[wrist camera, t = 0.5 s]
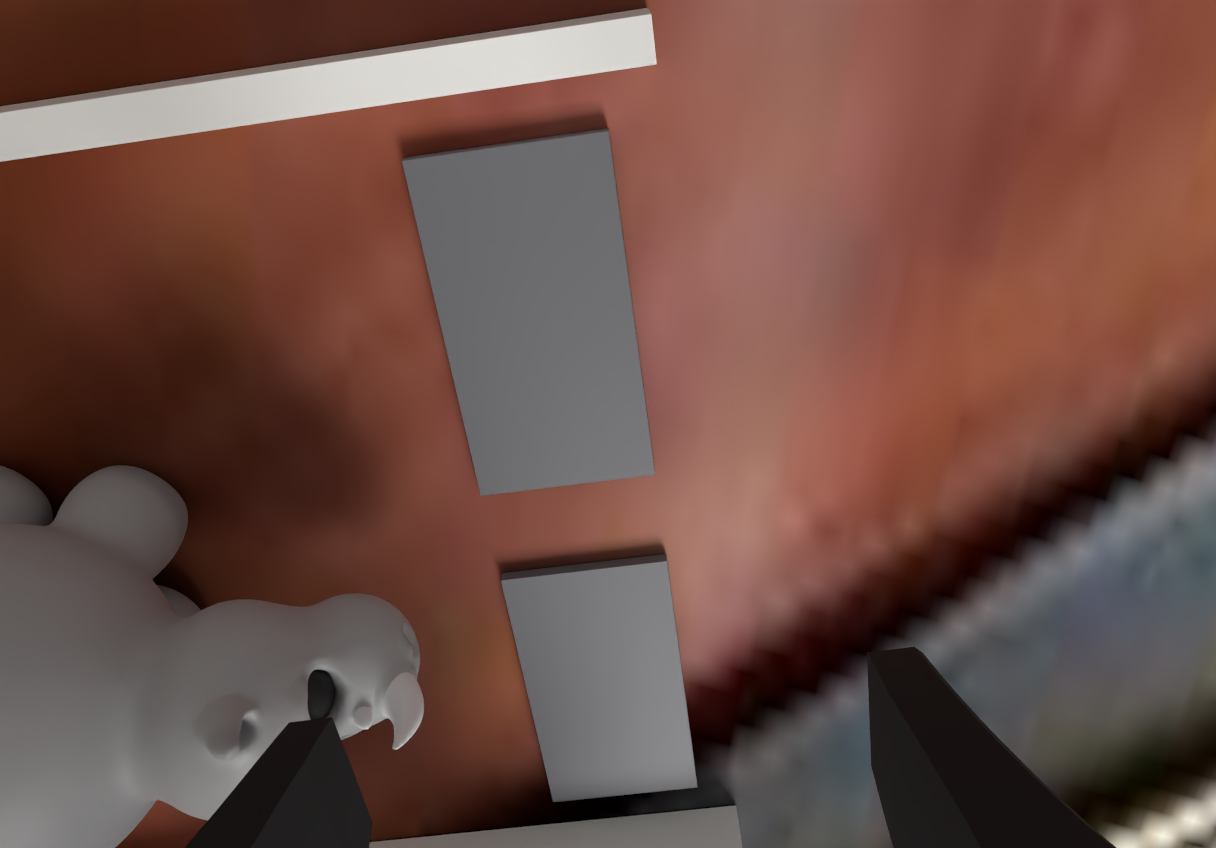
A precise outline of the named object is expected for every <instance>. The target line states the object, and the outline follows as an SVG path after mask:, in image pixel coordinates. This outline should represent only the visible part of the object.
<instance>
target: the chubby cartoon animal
mask: <svg viewBox="0 0 1216 848" xmlns="http://www.w3.org/2000/svg"><path fill="white" fill-rule="evenodd" d="M52 521H53V513H52V508H51V505H50V502H49V500H48V499H47V497H46V496H45V494H44V493H43V492H42V491H41V490H40V489H39V488H38V487H37V486H36V485H35V484H34V483H33V482H32V481H30V480H29V479H27V478H26V477H24V476H23V475H21V474H19V473H17V472H15V471H14V470H11V469H9V468H6V467H3V466H0V848H115V847H116V846H117V845H118V844H120V843H121V842H122V841H123V840H124V839H125V838H126V837H127V836H128V835H129V834H130V833H131V832H132V831H133V830H134V828H135V827H136V826H137V825H138V824H139V823H140V821H141V820H142V819H143V818H144V817H145V815H146V814H147V813H148V811H149V810H150V809H151V808H152V806H153V805H154V803H155V802H156V800H161V801H163V802H165V803H167V804H169V805H171V806H173V807H175V808H176V809H178V810H180V811H181V812H183V813H186V814H188V815H190V816H193V817H196V818H199V819H203V820H207V821H208V820H209V819H210V818H211V816H212V815H213V814H214V813H215V812H216V810H217V809H218V808H219V807H220V806H221V804H222V803H223V802H224V801H225V799H226V798H227V797H228V796H229V795H230V793H231V792H232V791H233V790H234V789H235V787H236V786H237V785H238V784H239V782H240V781H241V780H242V779H243V778H244V776H245V775H246V774H247V773H248V771H249V770H250V769H251V768H252V767H253V765H254V764H255V763H256V762H257V760H258V759H259V758H260V757H261V755H262V754H263V753H264V752H265V751H266V749H267V748H268V747H269V746H270V744H271V743H272V742H273V741H274V740H275V738H276V737H277V736H278V735H279V734H280V732H281V731H282V730H283V729H284V728H285V727H286V725H287V724H288V723H289V722H296V721H305V720H313V719H321V718H330V717H332V718H333V720H334V723H335V725H336V728H337V731H338V733H339V736H340V739H341V740H343V739H345V738H348V737H350V736H352V735H355V734H357V733H358V732H360V731H362V730H365V729H369V727H370V726H372V725H375V724H377V723H379V722H380V721H382V720H384V719H387V718H389V719H390V720H391V722H392V723H393V726H394V742H393V746H392V749H396V750H397V749H399V748H400V747H401V746H403V745H404V744H405V743H406V742H407V741H408V740H409V739H410V738H411V737H412V736H413V735H414V733H415V732H416V731H417V729H418V727H419V725H420V723H421V721H422V718H423V714H424V699H423V695H422V691H421V689H420V686H419V684H418V682H417V675H418V671H419V666H420V651H419V645H418V641H417V638H416V635H415V632H414V630H413V628H412V627H411V625H410V623H409V621H408V620H407V619H406V617H405V616H404V615H403V614H402V613H401V612H400V611H399V610H398V609H397V608H396V607H395V606H393V605H392V604H390V603H389V602H387V601H385V600H383V599H381V598H379V597H376V596H373V595H369V594H362V593H351V594H342V595H337V596H334V597H331V598H328V599H326V600H324V601H321V602H319V603H317V604H314V605H311V606H306V607H296V606H288V605H282V604H278V603H273V602H268V601H262V600H255V599H238V600H230V601H225V602H220V603H217V604H214V605H212V606H209V607H207V608H205V609H203V610H200V608H199V607H198V606H197V605H196V604H195V603H194V602H192V601H191V600H190V599H189V598H187V597H186V596H184V595H183V594H181V593H179V592H177V591H175V590H173V589H171V588H168V587H164V586H160V585H156V584H155V583H154V581H153V578H154V577H155V576H157V575H158V574H159V573H160V572H161V571H162V570H163V569H164V568H165V567H166V566H167V564H168V563H169V562H170V561H171V560H172V558H173V557H174V555H175V554H176V552H177V551H178V549H179V547H180V546H181V544H182V541H183V539H184V536H185V533H186V530H187V525H188V512H187V507H186V505H185V502H184V501H183V499H182V497H181V496H180V495H179V493H178V492H177V491H176V490H175V489H174V488H173V487H172V486H171V485H169V484H168V483H167V482H166V481H164V480H163V479H161V478H160V477H158V476H156V475H155V474H153V473H151V472H148V471H146V470H143V469H141V468H138V467H133V466H127V465H116V466H110V467H106V468H103V469H100V470H98V471H96V472H94V473H92V474H91V475H89V476H87V477H86V478H85V479H83V480H82V481H81V482H80V483H78V484H77V485H76V486H75V487H74V488H73V490H72V491H71V492H70V493H69V494H68V496H67V497H66V498H65V500H64V502H63V503H62V505H61V507H60V509H59V511H58V513H57V516H56V518H55V519H54V521H53V522H52Z"/></svg>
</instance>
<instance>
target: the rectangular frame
mask: <svg viewBox="0 0 1216 848" xmlns="http://www.w3.org/2000/svg"><path fill="white" fill-rule="evenodd" d="M655 64H657V62H656V53H655V44H654V35H653V26H652V17H651V13H650V11H649V9H648V8H643V9H637V10H630V11H624V12H617V13H610V14H604V15H597V16H591V17H584V18H578V19H571V20H564V21H558V22H551V23H545V24H538V25H532V26H525V27H518V28H512V29H505V30H499V31H492V32H486V33H479V34H473V35H466V36H459V37H453V38H446V39H440V40H433V41H427V42H420V43H413V44H407V45H400V46H394V47H387V48H381V49H374V50H368V51H361V52H354V53H348V54H341V55H335V56H328V57H322V58H315V59H308V60H302V61H295V62H289V63H282V64H276V65H269V66H263V67H256V68H249V69H243V70H236V71H230V72H223V73H217V74H210V75H203V76H197V77H190V78H184V79H177V80H171V81H164V82H157V83H151V84H144V85H138V86H131V87H125V88H118V89H112V90H105V91H98V92H92V93H85V94H79V95H72V96H66V97H59V98H52V99H46V100H39V101H33V102H26V103H20V104H13V105H7V106H0V162H2V161H9V160H16V159H22V158H29V157H36V156H42V155H49V154H56V153H63V152H69V151H76V150H83V149H90V148H96V147H103V146H110V145H116V144H123V143H130V142H137V141H143V140H150V139H157V138H164V137H170V136H177V135H184V134H190V133H197V132H204V131H211V130H217V129H224V128H231V127H238V126H244V125H251V124H258V123H264V122H271V121H278V120H285V119H291V118H298V117H305V116H312V115H318V114H325V113H332V112H338V111H345V110H352V109H359V108H365V107H372V106H379V105H386V104H392V103H399V102H406V101H412V100H419V99H426V98H433V97H439V96H446V95H453V94H460V93H466V92H473V91H480V90H486V89H493V88H500V87H507V86H513V85H520V84H527V83H534V82H540V81H547V80H554V79H560V78H567V77H574V76H581V75H587V74H594V73H601V72H608V71H614V70H621V69H628V68H634V67H641V66H648V65H655ZM402 164H403V168H404V172H405V176H406V181H407V185H408V189H409V193H410V198H411V202H412V206H413V210H414V215H415V219H416V223H417V227H418V232H419V236H420V240H421V244H422V249H423V253H424V257H425V261H426V265H427V270H428V274H429V278H430V282H431V287H432V291H433V295H434V299H435V304H436V308H437V312H438V316H439V321H440V325H441V329H442V333H443V338H444V342H445V346H446V350H447V354H448V359H449V363H450V367H451V371H452V376H453V380H454V384H455V388H456V393H457V397H458V401H459V405H460V410H461V414H462V418H463V422H464V427H465V431H466V435H467V439H468V443H469V448H470V452H471V456H472V460H473V465H474V469H475V473H476V477H477V482H478V486H479V490H480V494H481V496H484V495H492V494H501V493H509V492H517V491H525V490H533V489H542V488H550V487H558V486H566V485H574V484H582V483H591V482H599V481H607V480H615V479H623V478H631V477H640V476H648V475H655V469H654V461H653V454H652V447H651V439H650V432H649V424H648V417H647V410H646V402H645V395H644V388H643V380H642V373H641V365H640V358H639V351H638V343H637V336H636V329H635V321H634V314H633V306H632V299H631V292H630V284H629V277H628V269H627V262H626V255H625V247H624V240H623V233H622V225H621V218H620V210H619V203H618V196H617V188H616V181H615V174H614V166H613V159H612V151H611V144H610V137H609V129H608V128H606V129H599V130H592V131H585V132H578V133H571V134H564V135H557V136H550V137H544V138H537V139H530V140H523V141H516V142H509V143H502V144H495V145H488V146H481V147H475V148H468V149H461V150H454V151H447V152H440V153H433V154H426V155H419V156H412V157H406V158H404V159H403V160H402ZM501 583H502V588H503V592H504V596H505V600H506V604H507V609H508V613H509V617H510V621H511V626H512V630H513V634H514V638H515V643H516V647H517V651H518V655H519V660H520V664H521V668H522V672H523V677H524V681H525V685H526V689H527V693H528V698H529V702H530V706H531V710H532V715H533V719H534V723H535V727H536V732H537V736H538V740H539V744H540V749H541V753H542V757H543V761H544V766H545V770H546V774H547V778H548V782H549V787H550V791H551V795H552V799H553V802H559V801H569V800H579V799H589V798H599V797H609V796H618V795H628V794H638V793H648V792H658V791H667V790H677V789H687V788H697V779H696V771H695V764H694V756H693V749H692V742H691V734H690V727H689V720H688V712H687V705H686V697H685V690H684V683H683V675H682V668H681V661H680V653H679V646H678V638H677V631H676V624H675V616H674V609H673V602H672V594H671V587H670V579H669V572H668V565H667V557H666V554H661V555H652V556H644V557H635V558H627V559H618V560H609V561H601V562H592V563H584V564H575V565H567V566H558V567H550V568H541V569H533V570H524V571H516V572H507V573H502V577H501ZM369 848H742V842H741V835H740V828H739V822H738V815H737V809H736V805H735V806H725V807H715V808H705V809H695V810H685V811H675V812H665V813H656V814H646V815H636V816H626V817H616V818H606V819H596V820H586V821H576V822H566V823H556V824H546V825H536V826H526V827H516V828H506V829H496V830H486V831H476V832H466V833H457V834H447V835H437V836H427V837H417V838H407V839H397V840H387V841H377V842H370V844H369Z"/></svg>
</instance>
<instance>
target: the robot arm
mask: <svg viewBox="0 0 1216 848" xmlns="http://www.w3.org/2000/svg"><path fill="white" fill-rule="evenodd" d="M867 661H868V687H869V714H870V740H871V766H872V770H873V774H874V778H875V781H876V785H877V789H878V793H879V797H880V801H881V804H882V808H883V812H884V815H885V819H886V823H887V826H888V830H889V834H890V837H891V841H892V844H893V846H894V848H1116V847H1115V846H1114V845H1112V844H1111V843H1110V842H1109V841H1108V840H1106V839H1105V838H1104V837H1103V836H1102V835H1101V834H1099V833H1098V832H1097V831H1096V830H1095V829H1094V828H1092V827H1091V826H1090V825H1089V824H1088V823H1087V822H1086V821H1085V820H1083V819H1082V818H1081V817H1080V816H1079V815H1078V814H1077V813H1076V812H1075V811H1073V810H1072V809H1071V808H1070V807H1069V806H1068V805H1067V804H1066V803H1065V802H1063V801H1062V800H1061V799H1060V798H1059V797H1058V796H1057V795H1056V794H1055V793H1054V792H1053V791H1051V790H1050V789H1049V788H1048V787H1047V786H1046V785H1045V784H1044V783H1043V782H1042V781H1041V780H1040V779H1039V778H1038V777H1037V776H1036V775H1035V774H1034V773H1033V772H1032V771H1031V770H1030V769H1029V768H1028V767H1027V766H1026V765H1025V764H1024V763H1023V762H1022V761H1021V760H1020V759H1019V758H1018V757H1017V756H1016V755H1015V754H1014V753H1013V752H1012V751H1011V750H1010V749H1009V748H1008V747H1007V746H1006V745H1005V744H1004V743H1003V742H1002V741H1001V740H1000V739H999V738H998V737H997V736H996V735H995V734H994V733H993V732H992V731H991V730H990V729H989V728H988V727H987V726H986V725H985V724H984V723H983V722H982V721H981V719H980V718H979V717H978V716H977V715H976V714H975V713H974V712H973V711H972V710H971V708H970V707H969V706H968V705H967V704H966V703H965V702H964V701H963V700H962V699H961V697H960V696H959V695H958V694H957V693H956V692H955V691H954V690H953V688H952V687H951V686H950V685H949V684H948V683H947V681H946V680H945V679H944V678H943V677H942V676H941V674H940V673H939V672H938V671H937V670H936V668H935V667H934V666H933V665H932V664H931V662H930V661H929V660H928V659H927V658H926V656H925V655H924V654H923V653H922V652H921V651H919V650H918V649H917V648H915V647H909V648H901V649H893V650H885V651H876V652H868V653H867ZM371 829H372V820H371V818H370V815H369V812H368V810H367V807H366V804H365V802H364V799H363V796H362V794H361V791H360V789H359V786H358V783H357V781H356V778H355V775H354V773H353V770H352V768H351V765H350V762H349V760H348V757H347V754H346V752H345V749H344V746H343V744H342V741H341V739H340V736H339V733H338V731H337V728H336V725H335V723H334V720H333V718H332V717H330V718H321V719H313V720H305V721H296V722H289V723H288V724H287V725H286V727H285V728H284V729H283V730H282V731H281V732H280V734H279V735H278V736H277V737H276V738H275V740H274V741H273V742H272V743H271V744H270V746H269V747H268V748H267V749H266V751H265V752H264V753H263V754H262V755H261V757H260V758H259V759H258V760H257V762H256V763H255V764H254V765H253V767H252V768H251V769H250V770H249V771H248V773H247V774H246V775H245V776H244V778H243V779H242V780H241V781H240V782H239V784H238V785H237V786H236V787H235V789H234V790H233V791H232V792H231V793H230V795H229V796H228V797H227V798H226V799H225V801H224V802H223V803H222V804H221V806H220V807H219V808H218V809H217V810H216V812H215V813H214V814H213V815H212V816H211V818H210V819H209V820H208V821H207V822H206V823H205V825H204V826H203V827H202V828H201V829H200V831H199V832H198V833H197V834H196V835H195V836H194V838H193V839H192V840H191V841H190V842H189V844H188V845H187V846H186V847H185V848H369V844H370V836H371Z"/></svg>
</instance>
